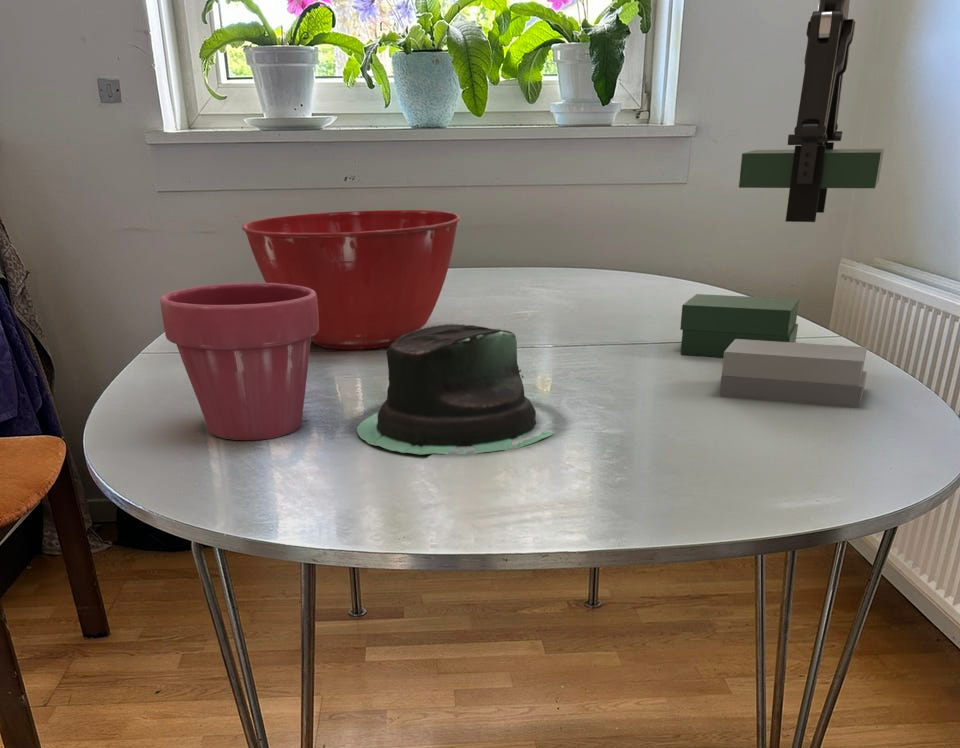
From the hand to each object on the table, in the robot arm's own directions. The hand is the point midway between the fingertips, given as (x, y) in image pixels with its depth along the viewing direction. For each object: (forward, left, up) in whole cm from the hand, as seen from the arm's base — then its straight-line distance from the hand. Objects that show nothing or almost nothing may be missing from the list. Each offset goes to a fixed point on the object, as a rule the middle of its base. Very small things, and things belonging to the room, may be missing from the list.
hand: (805, 216), depth 95 cm
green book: (0, 0, +3) cm, 3 cm away
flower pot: (+47, +32, -18) cm, 59 cm away
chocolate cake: (+28, +25, -18) cm, 41 cm away
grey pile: (-1, +3, -17) cm, 18 cm away
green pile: (+8, -18, -17) cm, 26 cm away
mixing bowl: (+58, -9, -18) cm, 61 cm away
